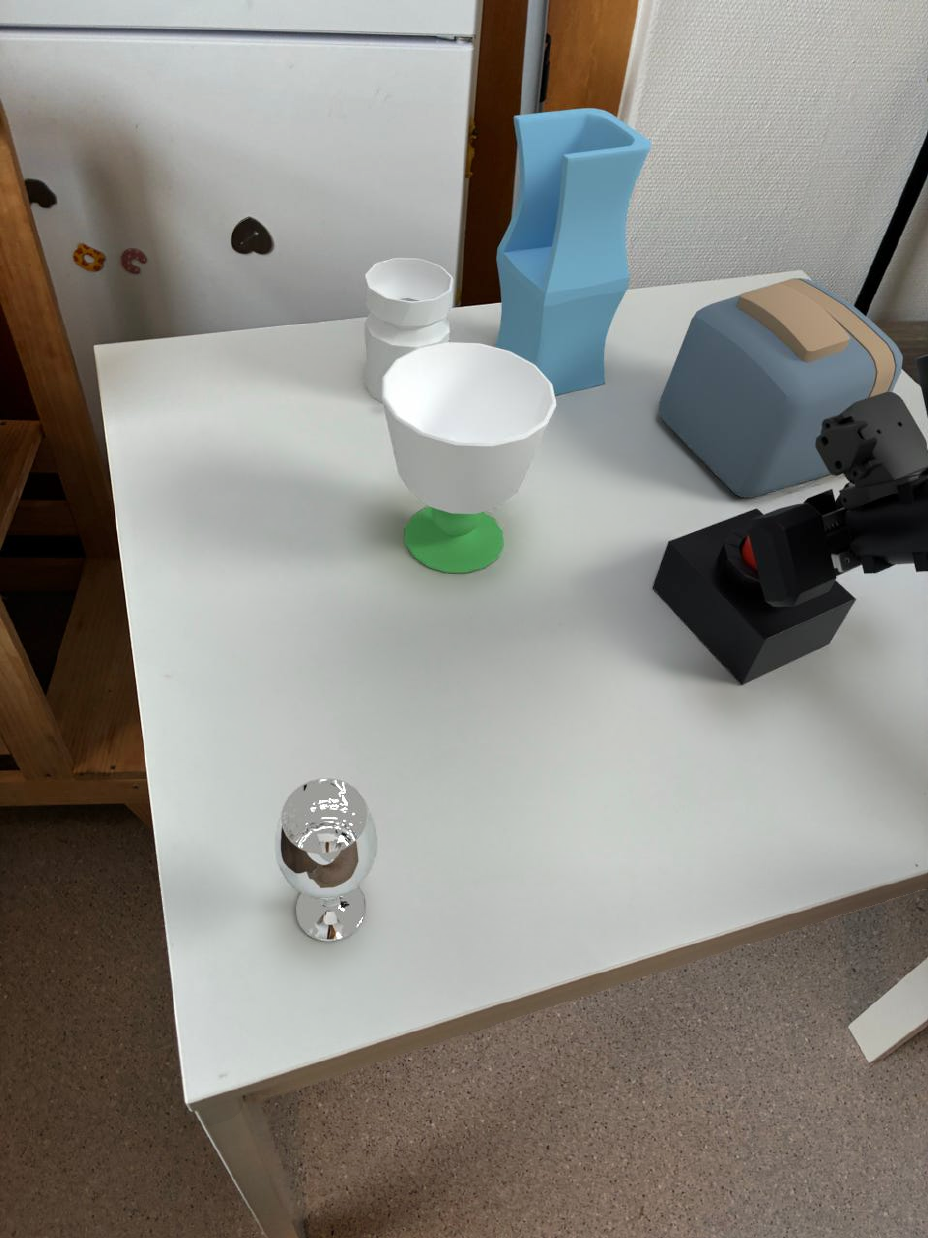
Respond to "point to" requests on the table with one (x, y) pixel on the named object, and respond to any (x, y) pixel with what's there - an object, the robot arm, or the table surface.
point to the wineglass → (326, 855)
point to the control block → (742, 602)
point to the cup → (463, 444)
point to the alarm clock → (773, 381)
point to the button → (748, 553)
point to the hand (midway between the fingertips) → (778, 533)
